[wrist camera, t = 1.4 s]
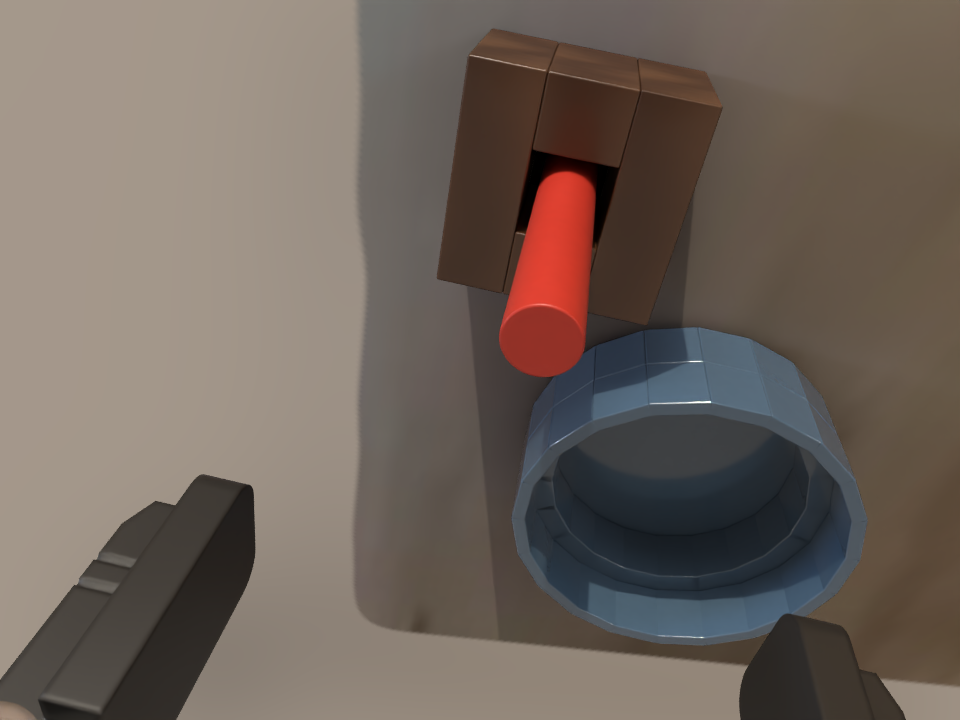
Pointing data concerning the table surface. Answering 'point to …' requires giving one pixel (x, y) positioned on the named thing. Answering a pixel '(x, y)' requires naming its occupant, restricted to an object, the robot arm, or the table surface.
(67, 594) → the robot arm
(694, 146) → the holder
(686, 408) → the bowl
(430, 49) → the table surface
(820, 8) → the table surface
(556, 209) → the stick
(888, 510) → the table surface
